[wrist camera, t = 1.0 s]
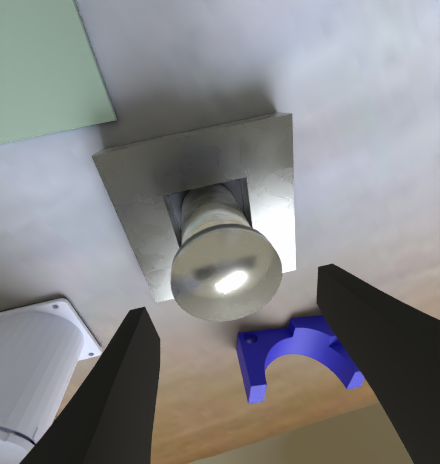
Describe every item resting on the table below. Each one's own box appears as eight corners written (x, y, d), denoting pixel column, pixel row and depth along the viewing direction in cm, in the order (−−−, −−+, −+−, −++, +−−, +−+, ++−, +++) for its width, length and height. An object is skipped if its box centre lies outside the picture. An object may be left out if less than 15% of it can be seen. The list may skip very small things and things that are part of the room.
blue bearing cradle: (337, 312, 28) (374, 360, 22) (328, 337, 30) (359, 387, 25) (238, 322, 26) (252, 376, 21) (236, 348, 28) (248, 403, 23)
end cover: (184, 244, 20) (186, 331, 12) (166, 185, 17) (154, 248, 10) (246, 230, 20) (284, 307, 13) (237, 169, 18) (279, 219, 10)
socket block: (158, 282, 22) (156, 302, 19) (104, 148, 16) (91, 156, 13) (284, 253, 22) (295, 269, 20) (277, 112, 16) (292, 113, 14)
